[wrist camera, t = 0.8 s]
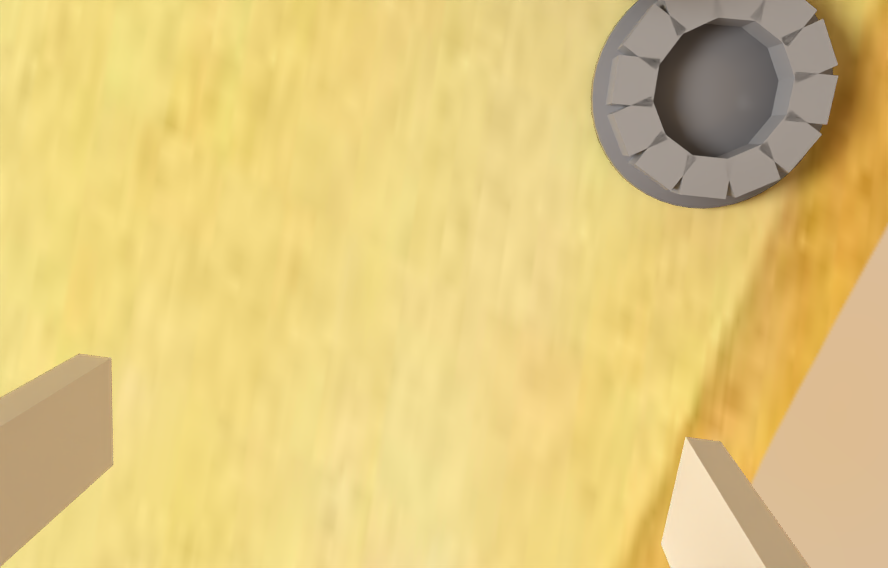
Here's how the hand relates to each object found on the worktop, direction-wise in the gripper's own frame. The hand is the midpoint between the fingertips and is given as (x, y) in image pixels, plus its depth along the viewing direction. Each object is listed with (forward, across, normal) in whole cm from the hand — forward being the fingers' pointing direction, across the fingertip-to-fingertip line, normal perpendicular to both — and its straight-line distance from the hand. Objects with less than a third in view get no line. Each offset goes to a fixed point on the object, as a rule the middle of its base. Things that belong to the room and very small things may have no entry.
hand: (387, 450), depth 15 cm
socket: (+23, +12, +10) cm, 28 cm away
